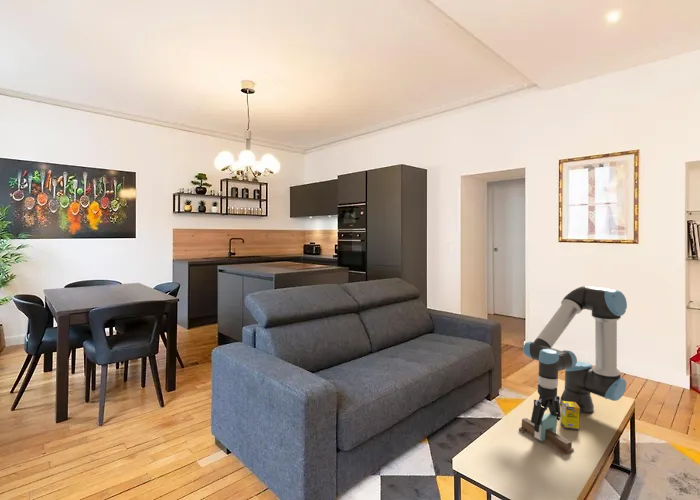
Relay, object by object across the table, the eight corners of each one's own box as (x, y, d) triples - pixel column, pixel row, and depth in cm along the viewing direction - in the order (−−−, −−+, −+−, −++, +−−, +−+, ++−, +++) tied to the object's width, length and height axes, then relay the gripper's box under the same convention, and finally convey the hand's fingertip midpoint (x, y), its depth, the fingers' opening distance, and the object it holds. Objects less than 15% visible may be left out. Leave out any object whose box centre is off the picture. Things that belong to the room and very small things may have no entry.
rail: (529, 426, 179) (529, 417, 178) (574, 451, 159) (574, 441, 159) (518, 429, 176) (518, 420, 175) (563, 455, 156) (563, 445, 156)
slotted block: (548, 432, 171) (549, 413, 170) (555, 436, 168) (556, 416, 167) (534, 437, 167) (535, 417, 166) (541, 441, 164) (542, 420, 163)
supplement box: (579, 430, 176) (580, 407, 175) (564, 429, 177) (566, 406, 176) (574, 424, 181) (575, 401, 181) (560, 422, 183) (561, 400, 182)
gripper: (556, 378, 174) (554, 426, 175) (522, 386, 165) (520, 437, 166) (571, 384, 167) (569, 434, 169) (537, 393, 158) (535, 446, 159)
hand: (545, 435), depth 167 cm, fingers closed on slotted block, 9 cm apart
